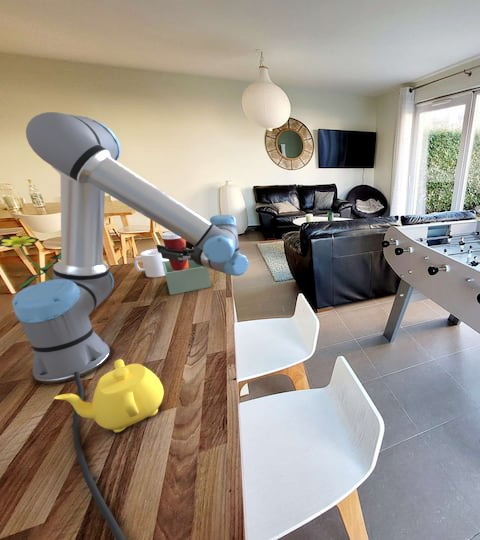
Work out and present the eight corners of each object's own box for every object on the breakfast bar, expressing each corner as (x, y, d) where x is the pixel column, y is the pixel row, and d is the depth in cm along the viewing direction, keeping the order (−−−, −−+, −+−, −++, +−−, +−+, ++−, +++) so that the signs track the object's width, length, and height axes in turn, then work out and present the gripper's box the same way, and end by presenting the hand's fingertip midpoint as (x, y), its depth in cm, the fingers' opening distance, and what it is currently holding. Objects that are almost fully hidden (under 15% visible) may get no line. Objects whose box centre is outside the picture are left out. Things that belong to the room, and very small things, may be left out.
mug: (134, 279, 130) (128, 257, 126) (140, 270, 139) (135, 250, 135) (169, 275, 135) (164, 254, 131) (173, 268, 144) (168, 248, 140)
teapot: (122, 388, 72) (109, 350, 68) (180, 389, 73) (170, 352, 68) (72, 439, 59) (51, 396, 55) (142, 440, 60) (127, 398, 55)
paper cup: (195, 267, 112) (189, 232, 106) (174, 273, 106) (166, 236, 100) (185, 263, 115) (178, 229, 110) (164, 268, 109) (156, 233, 104)
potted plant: (30, 339, 88) (-14, 247, 77) (40, 314, 101) (3, 231, 90) (105, 321, 99) (77, 237, 87) (105, 300, 112) (80, 225, 101)
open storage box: (211, 286, 127) (207, 266, 123) (170, 295, 118) (164, 273, 114) (204, 274, 138) (201, 255, 134) (166, 281, 129) (161, 261, 126)
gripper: (183, 276, 92) (142, 262, 102) (235, 258, 109) (196, 248, 119) (178, 255, 90) (137, 242, 99) (232, 239, 107) (193, 230, 116)
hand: (169, 245), depth 109 cm, fingers closed on paper cup, 8 cm apart
